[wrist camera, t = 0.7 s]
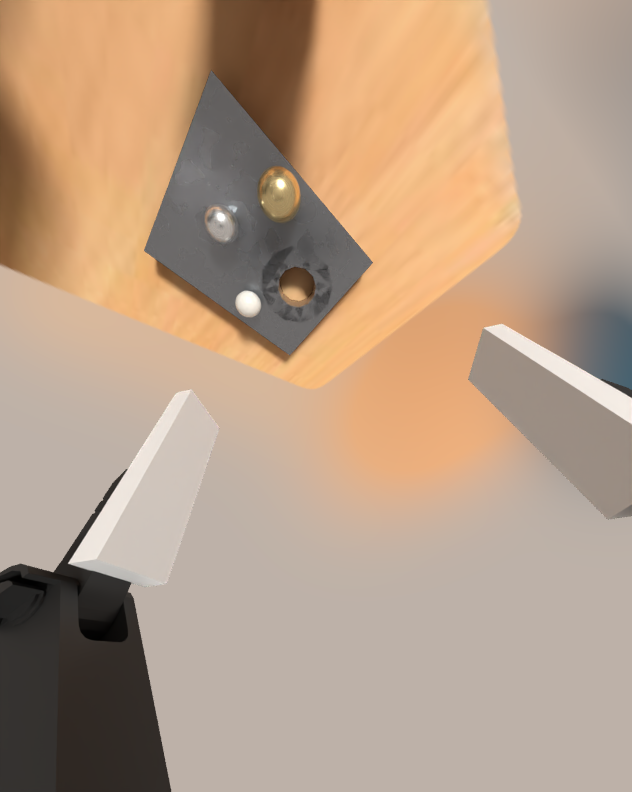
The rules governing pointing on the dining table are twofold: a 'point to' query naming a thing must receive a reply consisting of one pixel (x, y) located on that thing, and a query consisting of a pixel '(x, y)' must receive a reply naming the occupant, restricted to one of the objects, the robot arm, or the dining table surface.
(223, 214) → the steel ball
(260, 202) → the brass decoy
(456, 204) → the dining table surface
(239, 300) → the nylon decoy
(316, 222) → the plate
